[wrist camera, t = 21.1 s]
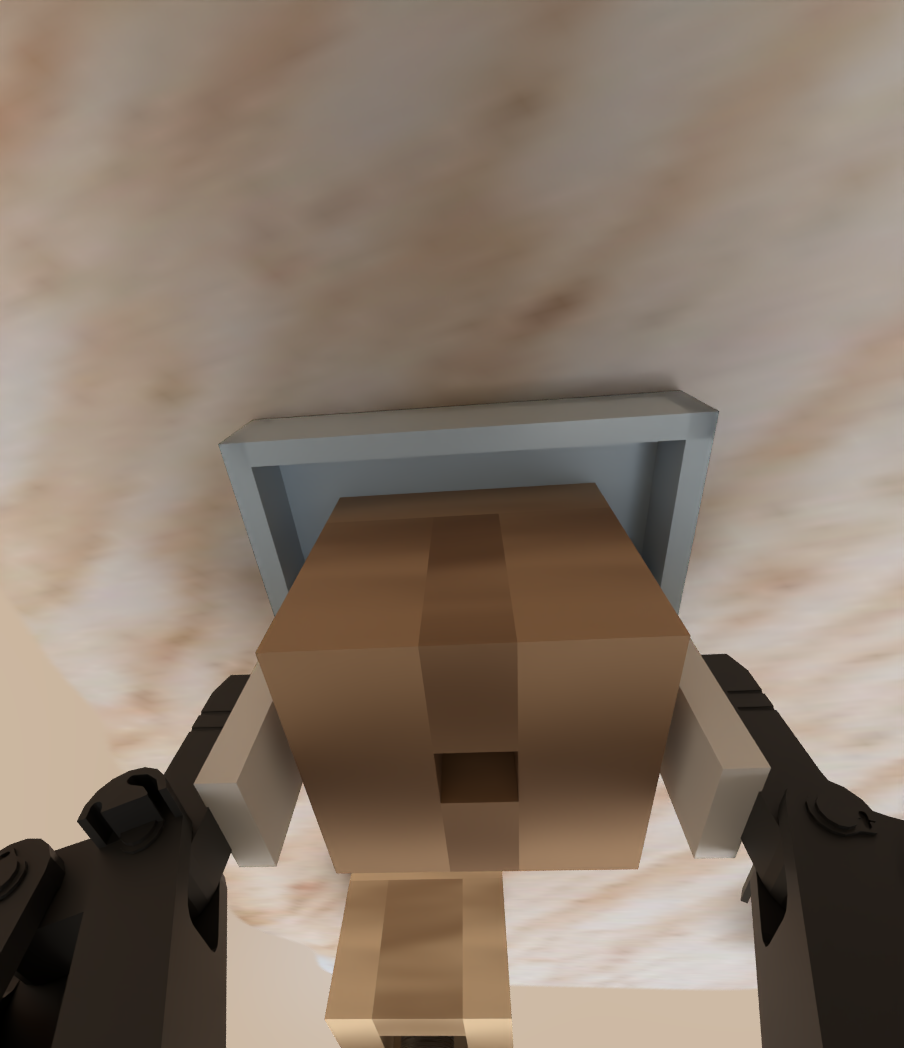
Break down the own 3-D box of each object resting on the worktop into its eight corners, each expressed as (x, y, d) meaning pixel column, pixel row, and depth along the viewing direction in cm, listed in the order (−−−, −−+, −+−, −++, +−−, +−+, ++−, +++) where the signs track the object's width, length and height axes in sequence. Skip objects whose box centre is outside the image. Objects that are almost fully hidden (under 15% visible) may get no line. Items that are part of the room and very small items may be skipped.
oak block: (356, 845, 23) (324, 1019, 17) (499, 842, 22) (511, 1018, 17) (378, 913, 26) (357, 1076, 21) (503, 911, 26) (514, 1077, 20)
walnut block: (339, 497, 13) (255, 653, 8) (595, 482, 13) (690, 635, 7) (377, 678, 16) (336, 873, 11) (580, 670, 16) (638, 869, 11)
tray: (252, 419, 12) (217, 444, 11) (680, 390, 12) (718, 411, 10) (334, 707, 18) (319, 755, 16) (632, 697, 17) (651, 746, 15)
